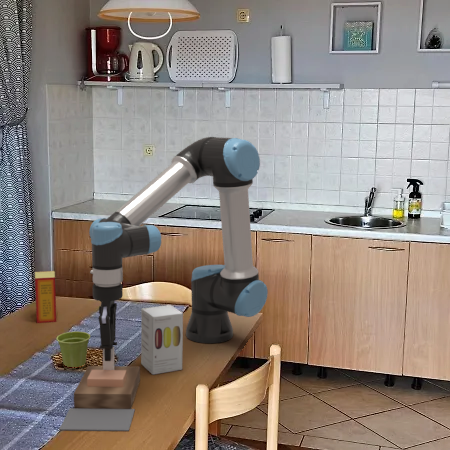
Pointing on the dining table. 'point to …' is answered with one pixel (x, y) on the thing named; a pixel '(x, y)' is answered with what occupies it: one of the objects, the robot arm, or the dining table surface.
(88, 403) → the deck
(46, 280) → the baking soda box
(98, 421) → the mat
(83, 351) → the plant pot
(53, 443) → the dining table surface
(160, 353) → the supplement box
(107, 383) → the tile
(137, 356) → the dining table surface
